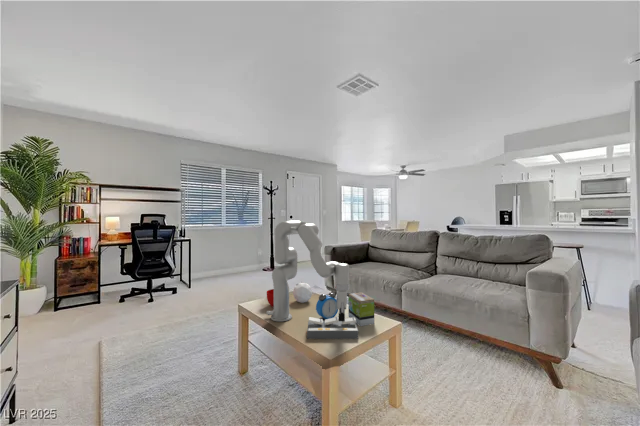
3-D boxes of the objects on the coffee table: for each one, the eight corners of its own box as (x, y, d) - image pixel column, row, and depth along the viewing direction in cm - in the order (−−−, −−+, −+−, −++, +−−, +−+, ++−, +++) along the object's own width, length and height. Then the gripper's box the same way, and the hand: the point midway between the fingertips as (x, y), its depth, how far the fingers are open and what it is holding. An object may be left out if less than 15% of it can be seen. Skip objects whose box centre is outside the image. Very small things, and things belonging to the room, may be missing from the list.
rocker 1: (308, 322, 147) (308, 319, 147) (308, 319, 151) (309, 316, 151) (322, 324, 147) (322, 322, 147) (322, 321, 151) (322, 319, 151)
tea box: (347, 317, 171) (347, 293, 171) (362, 315, 174) (362, 291, 174) (359, 326, 157) (359, 300, 157) (375, 324, 160) (375, 298, 160)
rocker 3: (342, 324, 147) (341, 322, 147) (341, 321, 152) (341, 318, 152) (356, 322, 147) (355, 319, 147) (355, 319, 152) (354, 316, 152)
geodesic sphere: (292, 298, 189) (304, 280, 193) (284, 293, 201) (295, 276, 205) (308, 308, 194) (319, 291, 199) (299, 303, 207) (310, 286, 211)
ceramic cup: (277, 300, 204) (277, 286, 204) (288, 306, 190) (288, 291, 190) (260, 303, 196) (260, 289, 196) (271, 310, 183) (271, 295, 183)
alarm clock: (320, 321, 163) (320, 296, 163) (315, 318, 169) (315, 293, 169) (339, 317, 170) (339, 293, 170) (333, 314, 175) (333, 290, 175)
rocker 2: (325, 325, 147) (324, 322, 147) (325, 321, 151) (324, 319, 151) (339, 321, 147) (338, 319, 147) (338, 318, 152) (337, 316, 152)
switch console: (307, 338, 141) (307, 328, 141) (308, 328, 154) (308, 319, 154) (358, 338, 141) (358, 329, 141) (355, 328, 154) (355, 319, 154)
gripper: (334, 282, 157) (334, 315, 157) (335, 290, 142) (335, 326, 142) (347, 283, 156) (347, 315, 157) (350, 290, 142) (349, 326, 142)
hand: (341, 320), depth 149 cm, fingers closed
